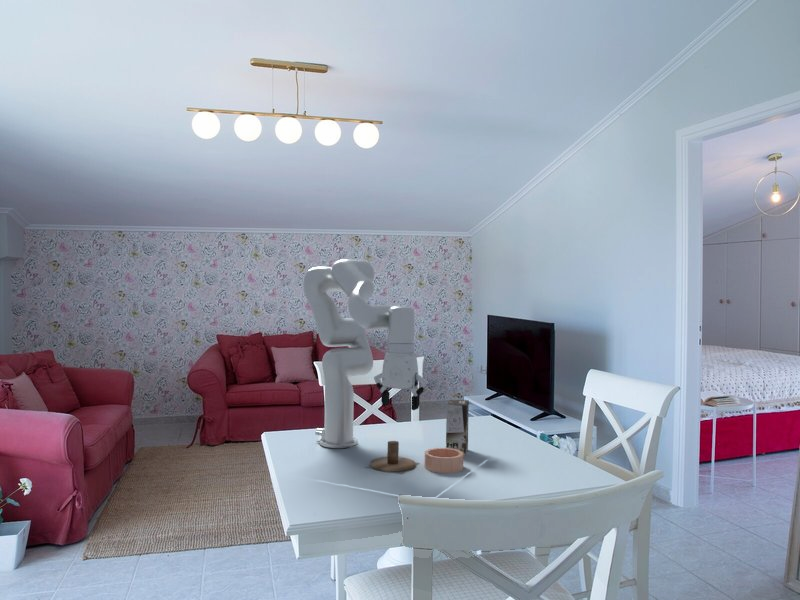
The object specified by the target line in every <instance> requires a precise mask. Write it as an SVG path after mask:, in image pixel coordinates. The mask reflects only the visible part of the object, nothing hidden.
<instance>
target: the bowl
mask: <svg viewBox="0 0 800 600" xmlns="http://www.w3.org/2000/svg"><path fill="white" fill-rule="evenodd" d="M423 455H424V458H423V459H424V461H423V462H424V465H423V466H424V469H425V470H428V471H430V472H433V473H439V474H452V473H453V474H454V473H458V472H461V471H462V470H464V457H465V456H464V454H463V452H462V451H459V450H456V449H450V448H446V447H434V448H433V447H432V448H428V449H427V450H425V451H424V454H423Z"/></svg>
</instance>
